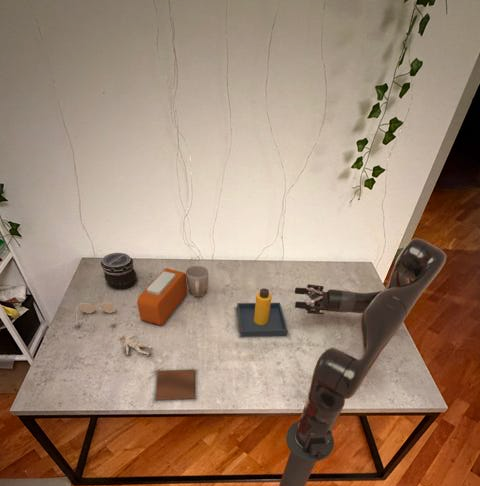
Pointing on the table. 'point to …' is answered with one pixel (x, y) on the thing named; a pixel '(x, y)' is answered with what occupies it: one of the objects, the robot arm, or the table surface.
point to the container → (118, 270)
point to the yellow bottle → (262, 307)
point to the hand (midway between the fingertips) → (295, 297)
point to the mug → (197, 280)
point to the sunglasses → (104, 306)
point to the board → (175, 385)
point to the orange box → (162, 296)
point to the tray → (250, 328)
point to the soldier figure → (133, 344)
